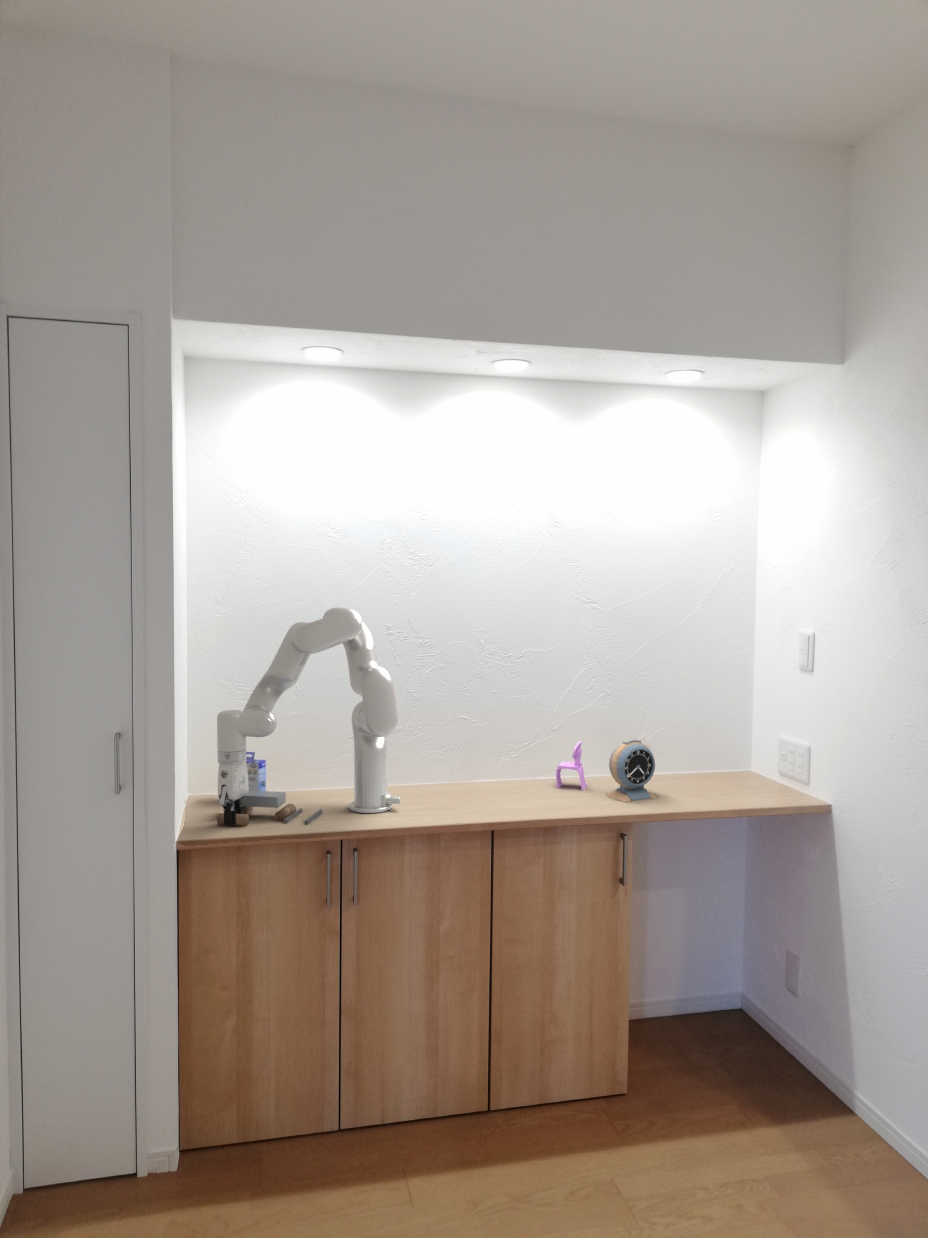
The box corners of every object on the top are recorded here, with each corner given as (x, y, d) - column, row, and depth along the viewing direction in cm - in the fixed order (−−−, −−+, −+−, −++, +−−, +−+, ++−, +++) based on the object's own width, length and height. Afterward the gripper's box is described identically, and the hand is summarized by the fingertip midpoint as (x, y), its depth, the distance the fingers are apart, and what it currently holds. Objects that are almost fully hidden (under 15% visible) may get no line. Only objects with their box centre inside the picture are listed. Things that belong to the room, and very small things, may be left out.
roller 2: (252, 813, 253) (254, 803, 253) (240, 820, 245) (242, 810, 245) (242, 810, 254) (244, 800, 253) (230, 818, 246) (232, 807, 245)
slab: (285, 802, 250) (285, 792, 250) (277, 808, 244) (277, 797, 244) (232, 800, 253) (232, 789, 253) (223, 805, 247) (223, 794, 247)
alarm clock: (621, 802, 262) (621, 744, 262) (603, 795, 271) (603, 738, 271) (660, 798, 268) (661, 740, 267) (641, 791, 277) (642, 735, 276)
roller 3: (285, 804, 251) (286, 814, 251) (274, 811, 243) (275, 822, 243) (295, 803, 251) (296, 813, 251) (284, 810, 243) (286, 821, 243)
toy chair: (560, 783, 287) (560, 737, 287) (587, 785, 284) (587, 739, 284) (554, 789, 280) (554, 742, 279) (581, 791, 277) (582, 744, 276)
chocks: (322, 812, 251) (322, 809, 251) (307, 824, 240) (307, 820, 239) (300, 811, 253) (299, 808, 252) (284, 823, 241) (284, 819, 241)
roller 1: (249, 823, 240) (248, 813, 240) (244, 827, 237) (244, 816, 237) (221, 822, 241) (221, 811, 241) (216, 825, 238) (216, 814, 238)
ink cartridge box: (267, 799, 267) (266, 751, 266) (259, 803, 262) (258, 755, 261) (236, 797, 269) (236, 750, 268) (228, 802, 264) (227, 754, 263)
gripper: (231, 763, 230) (232, 832, 230) (257, 750, 246) (258, 816, 246) (204, 762, 231) (206, 831, 232) (232, 750, 247) (233, 814, 248)
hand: (232, 822), depth 239 cm, fingers closed on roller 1, 3 cm apart
